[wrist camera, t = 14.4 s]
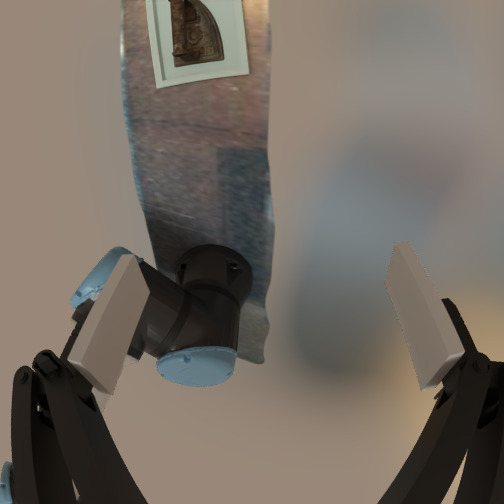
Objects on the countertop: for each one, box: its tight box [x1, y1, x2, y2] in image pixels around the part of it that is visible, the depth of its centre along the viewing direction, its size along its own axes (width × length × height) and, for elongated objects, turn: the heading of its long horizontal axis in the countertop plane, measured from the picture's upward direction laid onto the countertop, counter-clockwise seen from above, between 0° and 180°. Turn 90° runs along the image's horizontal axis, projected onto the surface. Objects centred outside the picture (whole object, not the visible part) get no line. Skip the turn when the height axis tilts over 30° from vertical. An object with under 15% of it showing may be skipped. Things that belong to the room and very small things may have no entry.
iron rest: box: [146, 0, 250, 89], centre depth 29 cm, size 17×13×2 cm
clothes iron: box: [168, 0, 224, 67], centre depth 26 cm, size 7×11×10 cm, turn 5°
